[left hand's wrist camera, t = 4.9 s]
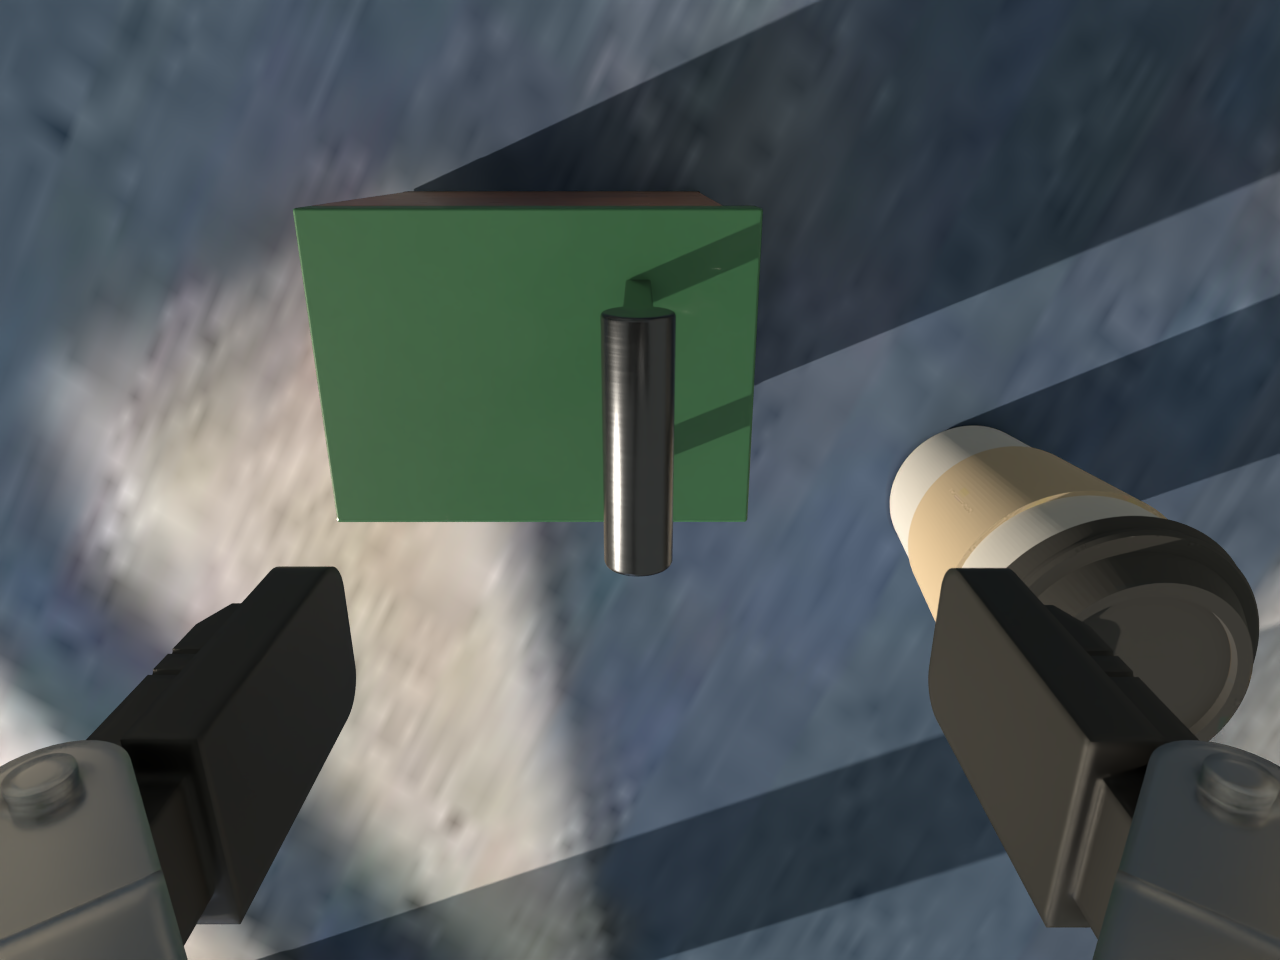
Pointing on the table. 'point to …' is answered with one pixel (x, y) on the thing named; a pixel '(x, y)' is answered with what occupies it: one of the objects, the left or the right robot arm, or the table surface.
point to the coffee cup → (1085, 563)
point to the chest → (534, 198)
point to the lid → (537, 364)
